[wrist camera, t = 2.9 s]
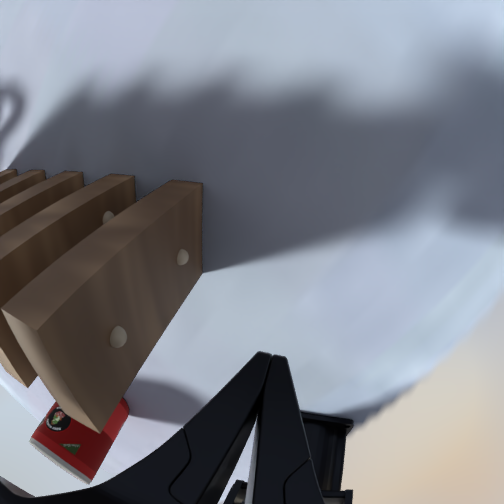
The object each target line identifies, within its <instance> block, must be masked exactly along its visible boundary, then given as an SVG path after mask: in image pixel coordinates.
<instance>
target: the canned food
mask: <svg viewBox="0 0 504 504" xmlns="http://www.w3.org/2000/svg"><path fill="white" fill-rule="evenodd" d="M128 413H129V407H128V405H127V403H126V401H125V400H124V399H123V398H122V399H121V400H120V402H119V404H118V405H117V407H116V408H115V410H114V412H113V413H112V415H111V417H110V418H109V420H108V422H107V423H106V425H105V426H104V428H103V430H102V431H101V433H98V432H96V431H94V430H93V429H91V428H89V427H87V426H85V425H84V424H82V423H80V422H78V421H77V420H75V419H73V418H72V417H70V416H68V415H67V414H65V412H64V411H63V410H62V408H61V407H60V406H59V404H58V403H57V402H55V403H54V405H53V406H52V407H51V409H50V410H49V412H48V413H47V414H46V416H45V417H44V419H43V420H42V421H41V423H40V424H39V426H38V427H37V429H36V430H35V432H34V433H33V435H32V436H31V439H30V441H29V442H30V444H31V445H32V446H34V447H35V448H36V449H37V450H38V451H39V452H41V453H42V454H43V455H44V456H45V457H47V458H48V459H49V460H51V461H52V462H53V463H55V464H56V465H57V466H59V467H60V468H62V469H63V470H65V471H66V472H68V473H69V474H71V475H72V476H74V477H75V478H77V479H79V480H80V481H82V482H84V483H86V484H90V482H91V481H92V480H93V478H94V476H95V475H96V473H97V471H98V469H99V467H100V466H101V464H102V462H103V460H104V458H105V457H106V455H107V453H108V451H109V449H110V448H111V446H112V444H113V442H114V440H115V439H116V437H117V435H118V433H119V431H120V430H121V428H122V426H123V424H124V423H125V421H126V419H127V417H128Z"/></svg>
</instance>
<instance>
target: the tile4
mask: <svg viewBox="0 0 504 504" xmlns="http://www.w3.org/2000/svg"><path fill="white" fill-rule="evenodd" d="M45 180H46V178H45V170H30V171H28V172H25V173H23V174H21V175H19V176H17V177H15V178H13V179H10V180H8V181H6V182H4V183H2V184H0V204H1V203H2V202H4V201H6V200H8V199H10V198H11V197H13V196H15V195H17V194H19V193H21V192H23V191H25V190H26V189H28V188H30V187H32V186H34V185H36V184H38V183H40V182H42V181H45Z"/></svg>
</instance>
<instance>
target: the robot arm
mask: <svg viewBox="0 0 504 504" xmlns="http://www.w3.org/2000/svg"><path fill="white" fill-rule="evenodd" d="M257 415H258V416H257ZM256 419H257V421H256ZM255 421H256V427H255V435H254V442H253V450H252V457H251V464H250V471H249V478H248V482H244V481H242V480H236V482H235V484H233V486H232V487H231V489H230V491H229V493H228V495H227V497H226V499H225V501H224V503H223V504H352V498H353V490H345V491H340V490H341V482H342V474H343V464H344V455H345V443H346V436H347V434H348V433H349V432H350V431H351V429H352V428H353V426H354V422H353V421H352V420H348V419H340V418H332V417H325V416H318V415H311V414H305V413H300V409H299V405H298V400H297V396H296V392H295V388H294V384H293V380H292V376H291V372H290V368H289V364H288V360H287V358H286V357H285V356H280V355H273V356H272V354H270V353H266V352H261V351H259V352H257V353H256V354H255V355H254V356H253V357H252V358H251V359H250V361H249V362H248V363H247V364H246V365H245V366H244V367H243V368H242V369H241V370H240V371H239V372H238V373H237V374H236V375H235V376H234V377H233V378H232V379H231V380H230V381H229V382H228V383H227V384H226V385H225V386H224V387H223V388H222V389H221V390H220V391H219V392H218V393H217V394H216V395H215V396H214V397H213V398H212V399H211V400H210V401H209V402H208V403H207V404H206V405H205V406H204V407H203V408H202V409H201V410H200V411H199V412H198V413H197V414H196V415H195V416H194V417H193V418H192V419H191V420H190V421H188V422H187V423H186V424H185V425H184V426H183V428H184V429H183V428H181V429H180V430H179V431H178V432H177V433H175V434H174V435H173V436H172V437H171V438H170V439H169V440H167V441H166V442H165V443H164V444H163V445H161V446H160V447H159V448H158V449H156V450H155V451H154V452H152V453H151V454H149V455H148V456H146V457H145V458H144V459H142V460H140V461H139V462H137V463H136V464H134V465H133V466H131V467H129V468H128V469H126V470H125V471H123V472H121V473H120V474H118V475H116V476H115V477H113V478H111V479H110V480H108V481H106V482H104V483H102V484H99V485H96V486H94V487H90V488H86V489H82V490H77V491H72V492H66V493H61V494H55V495H48V496H41V497H35V496H33V495H31V494H29V493H27V492H26V491H24V490H22V489H20V488H19V487H17V486H15V485H14V484H12V483H11V482H9V481H7V480H6V479H4V478H2V477H1V476H0V504H217V503H218V502H219V500H220V498H221V496H222V494H223V491H224V489H225V487H226V485H227V483H228V481H229V479H230V477H231V475H232V473H233V471H234V469H235V466H236V464H237V462H238V460H239V458H240V456H241V454H242V451H243V449H244V447H245V445H246V442H247V440H248V438H249V436H250V433H251V431H252V429H253V427H254V424H255Z"/></svg>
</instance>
